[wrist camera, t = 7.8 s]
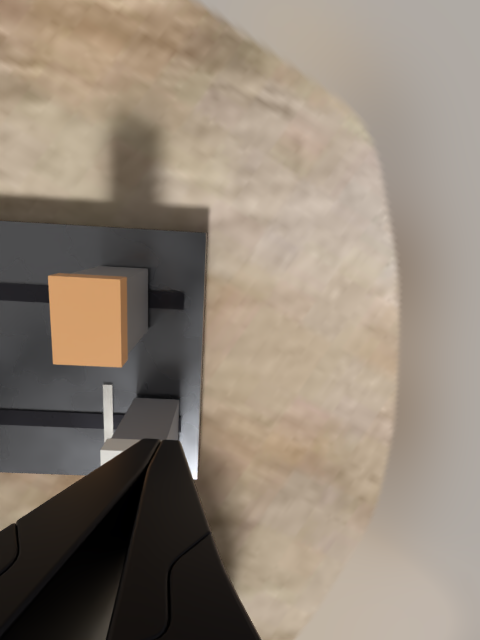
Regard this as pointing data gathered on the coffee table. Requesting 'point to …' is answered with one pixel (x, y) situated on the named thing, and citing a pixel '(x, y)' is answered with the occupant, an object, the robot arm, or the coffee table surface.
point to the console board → (94, 381)
